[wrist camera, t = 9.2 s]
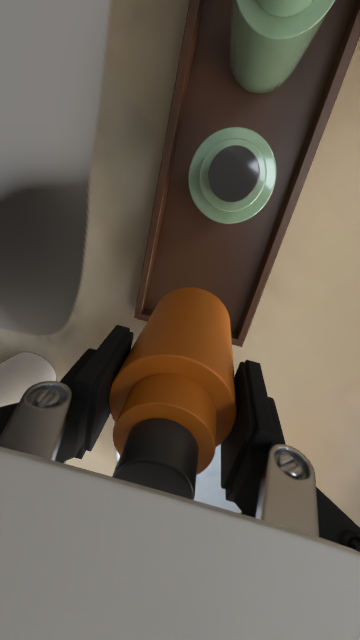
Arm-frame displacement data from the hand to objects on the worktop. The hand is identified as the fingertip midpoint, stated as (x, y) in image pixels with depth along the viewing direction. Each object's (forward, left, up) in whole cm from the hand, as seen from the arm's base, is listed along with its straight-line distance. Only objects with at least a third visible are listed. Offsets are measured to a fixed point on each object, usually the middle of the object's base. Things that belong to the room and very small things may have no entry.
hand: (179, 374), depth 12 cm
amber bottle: (0, 0, -5) cm, 5 cm away
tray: (-8, 0, -15) cm, 17 cm away
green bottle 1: (-8, 0, -14) cm, 16 cm away
